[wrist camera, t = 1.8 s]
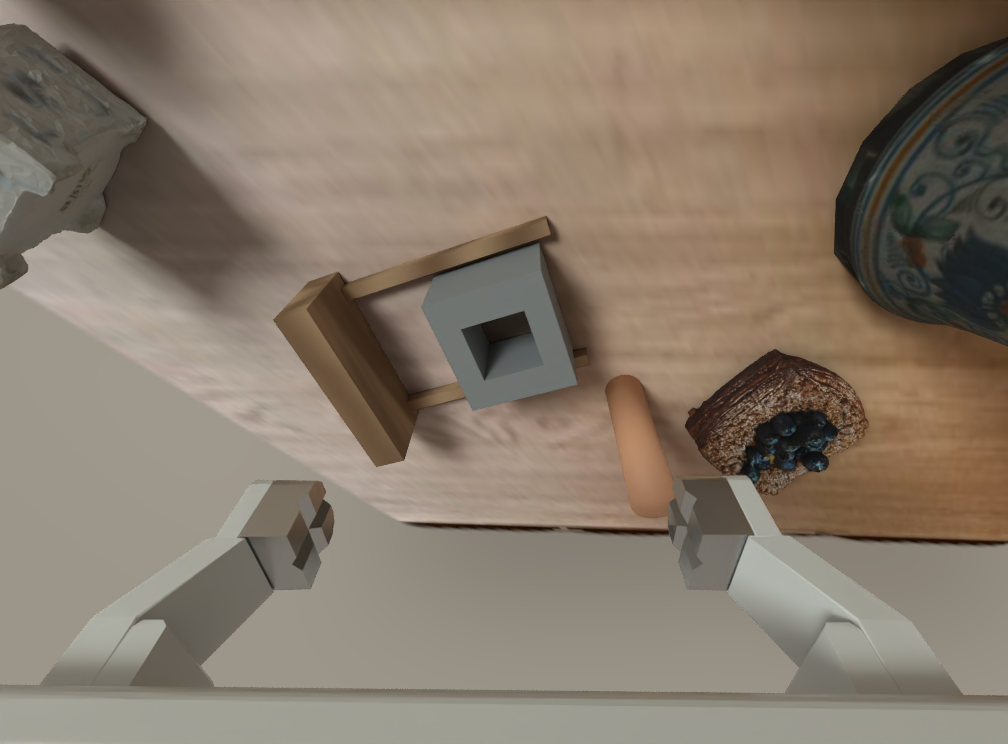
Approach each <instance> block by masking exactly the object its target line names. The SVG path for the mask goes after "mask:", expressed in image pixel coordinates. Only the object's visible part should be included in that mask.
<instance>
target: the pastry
mask: <svg viewBox="0 0 1008 744" xmlns="http://www.w3.org/2000/svg"><path fill="white" fill-rule="evenodd" d="M688 413H689V415H690V417H689V418H688V420H687V422H686V424H685V427H686V429H687V430H688V432H689V434H690V435H691V436H692V438H693V439H694V440H695V443H696V444H697V446H698V450H699V451H700V453H701V454H702V456H703V457H704V458H705V459H707V460H708V461H709V462H710V463H711V464H712V465H713V466H714V467H715V468H716V469H717V470H719V471H721V472H722V474H723V475H725V476H726V475H727V476H744V475H746V476H747V477H748V478H750V480H751V481H752V483H753V485H754V487H755V488H756V490H757V492H758V493H761V494H763V493H764V494H766V495H768V494H769V493H770V494H772V495H773V496H775V495H776V494H778V490H779V489H780V490H783V488H785V487H787V485H788V484H790V483H791V482H793V480H794V479H795V478H796V477H797V476H799V475H802V474H804V473H806V472H808V471H815V472H820V471H823V470H826V468H827V467H828V465H829V460H828V458H829V456H831V455H832V454H835V453H838V452H839V451H840V452H843V451H844V450H845V449H848V448H849V446H853V445H854V442H857V441H858V440H859V439H861V438H862V437H863V436H864V435H865V433H864V429H867V428H868V426H869V424H868V423H869V422H868V420H867V419H866V418H865V414H864V408H863V406H862V403H861V401H860V400H859V398H858V396H857V395H856V393H855V391H854V390H853V389H852V388H851V386H850V385H849V384H848V383H847V382H846V381H845V380H843V379H842V378H841V377H840V376H838V375H837V374H836V373H834V372H831V371H829V370H828V369H826V368H824V367H822V366H819V365H817V364H815V363H813V362H810V361H807V360H805V359H803V358H800V357H795V356H790V355H785V354H783V353H780V352H779V351H778V350H776V349H774V350H773V351H771V352H768V353H767V354H766V355H764V356H762V357H761V358H759V359H758V360H757V361H755V362H754V363H752V364H751V365H749V366H748V367H747V368H745V369H744V370H743V371H742V372H740V373H739V374H738V375H737V376H735V377H734V378H733V379H732V380H730V381H729V382H727V383H726V384H725V385H724V386H722V387H721V388H720V389H719V390H717V391H716V392H715V393H714V394H713V395H712V396H711V397H710V398H709V399H708V400H707V401H704V402H703V404H702V406H701V407H700V408H698V409H695V408H692V409H691V410H690V411H689V412H688Z"/></svg>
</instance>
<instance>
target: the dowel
mask: <svg viewBox="0 0 1008 744" xmlns="http://www.w3.org/2000/svg"><path fill="white" fill-rule="evenodd" d="M605 392H606V397H607V401H608V406H609V410H610V415H611V419H612V424H613V428H614V433H615V437H616V442H617V446H618V451H619V455H620V460H621V464H622V469H623V473H624V478H625V482H626V487H627V491H628V496H629V500H630V505H631V508H632V510H633V511H634V512H635V513H636V514H637V515H639V516H642V517H646V518H659V517H663V516H666V515H668V507H669V502H671V501H672V500H673V499H674V498H675V495H674V492H673V489H672V488H673V484H674V482H673V479H672V476H671V473H670V470H669V467H668V464H667V461H666V458H665V455H664V452H663V449H662V446H661V443H660V440H659V437H658V434H657V431H656V428H655V425H654V422H653V419H652V416H651V413H650V410H649V407H648V404H647V401H646V398H645V395H644V392H643V389H642V386H641V383H640V381H639V380H638V379H637V378H635V377H633V376H630V375H621V376H617V377H615V378H613V379H612V380H611V381H609V383H608V384H607V386H606V390H605Z"/></svg>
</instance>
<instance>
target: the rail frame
mask: <svg viewBox="0 0 1008 744" xmlns="http://www.w3.org/2000/svg"><path fill="white" fill-rule="evenodd" d="M548 235H551V232H550V227H549V224H548V221H547V217H546V216H544V217H541V218H538V219H536V220H533V221H530V222H527V223H524V224H521V225H518V226H515V227H512V228H509V229H506V230H503V231H500V232H497V233H494V234H491V235H488V236H485V237H482V238H479V239H476V240H473V241H470V242H467V243H464V244H461V245H458V246H455V247H452V248H450V249H447V250H444V251H441V252H438V253H435V254H432V255H429V256H426V257H423V258H420V259H417V260H414V261H411V262H408V263H405V264H402V265H399V266H396V267H393V268H390V269H387V270H384V271H381V272H378V273H375V274H372V275H369V276H366V277H364V278H361V279H358V280H355V281H352V282H349V283H346V284H344V282H343V280H342V278H341V277H340V275H339V273H338V272H336V273H333V274H330V275H327V276H324V277H322V278H319V279H316V280H313V281H310V282H308V283H307V284H306V286H305V287H304V288H303V289H302V290H301V291H300V292H299V293H298V294H297V295H296V296H295V297H294V298H293V299H292V300H291V301H290V303H289V304H288V305H287V306H286V307H285V308H284V309H283V310H282V311H281V312H280V313H279V314H278V315H277V316H276V317H275V319H274V322H275V323H276V325H277V326H278V328H279V329H280V330H281V332H282V333H283V335H284V336H285V338H286V339H287V340H288V342H289V343H290V345H291V346H292V348H293V349H294V350H295V352H296V353H297V355H298V356H299V358H300V359H301V360H302V362H303V363H304V365H305V366H306V368H307V369H308V370H309V372H310V373H311V375H312V376H313V378H314V379H315V380H316V382H317V383H318V385H319V386H320V388H321V389H322V390H323V392H324V393H325V395H326V396H327V397H328V399H329V400H330V402H331V403H332V405H333V406H334V407H335V409H336V410H337V412H338V413H339V415H340V416H341V417H342V419H343V420H344V422H345V423H346V425H347V426H348V427H349V429H350V430H351V432H352V433H353V435H354V436H355V437H356V439H357V440H358V442H359V443H360V445H361V446H362V447H363V449H364V450H365V452H366V453H367V455H368V456H369V457H370V459H371V460H372V462H373V463H374V464H375V466H376V467H378V466H383V465H387V464H391V463H395V462H400V461H404V459H405V456H406V453H407V449H408V446H409V443H410V439H411V436H412V433H413V429H414V426H415V423H416V420H417V416H418V413H419V412H418V410H417V409H421V408H425V407H428V406H432V405H436V404H440V403H444V402H448V401H452V400H456V399H459V398H463V397H466V396H465V394H464V392H463V390H462V388H461V386H460V384H459V382H456V383H452V384H449V385H445V386H441V387H437V388H434V389H430V390H426V391H422V392H419V393H415V394H411V395H409V394H408V393H407V391H406V389H405V387H404V386H403V384H402V382H401V380H400V379H399V377H398V375H397V374H396V372H395V370H394V368H393V367H392V365H391V363H390V361H389V360H388V358H387V356H386V355H385V353H384V351H383V349H382V348H381V346H380V344H379V342H378V341H377V339H376V337H375V336H374V334H373V332H372V330H371V329H370V327H369V325H368V323H367V322H366V320H365V318H364V316H363V315H362V313H361V311H360V310H359V308H358V306H357V304H356V303H355V301H354V299H356V298H359V297H362V296H365V295H368V294H371V293H374V292H377V291H380V290H383V289H386V288H389V287H392V286H395V285H399V284H402V283H405V282H408V281H411V280H414V279H417V278H420V277H423V276H426V275H429V274H432V273H435V272H438V271H441V270H444V269H447V268H450V267H454V266H457V265H460V264H463V263H466V262H469V261H472V260H475V259H478V258H481V257H484V256H487V255H490V254H493V253H496V252H499V251H502V250H505V249H509V248H512V247H515V246H518V245H521V244H524V243H527V242H530V241H533V240H536V239H539V238H542V237H545V236H548ZM573 355H574V362H575V369H576V368H580V367H583V366H587V365H590V364H589V359H588V355H587V352H586V348H584V349H580V350H576V351H573Z"/></svg>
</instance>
